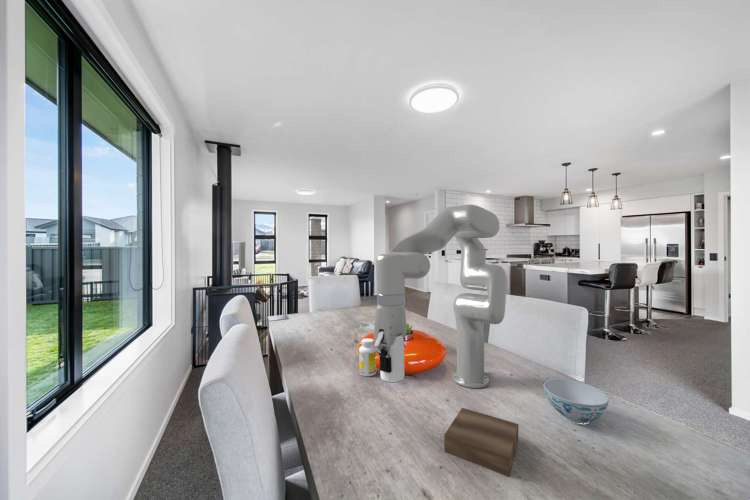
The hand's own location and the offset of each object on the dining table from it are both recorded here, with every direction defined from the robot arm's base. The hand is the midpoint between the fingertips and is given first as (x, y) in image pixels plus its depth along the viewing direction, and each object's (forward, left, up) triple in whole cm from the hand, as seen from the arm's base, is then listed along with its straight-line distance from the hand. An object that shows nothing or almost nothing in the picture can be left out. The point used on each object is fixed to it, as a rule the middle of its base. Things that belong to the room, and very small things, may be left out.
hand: (392, 365), depth 77 cm
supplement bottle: (-24, -25, -17) cm, 39 cm away
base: (-5, +22, -16) cm, 28 cm away
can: (0, 0, -3) cm, 3 cm away
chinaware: (-31, +41, -17) cm, 54 cm away
